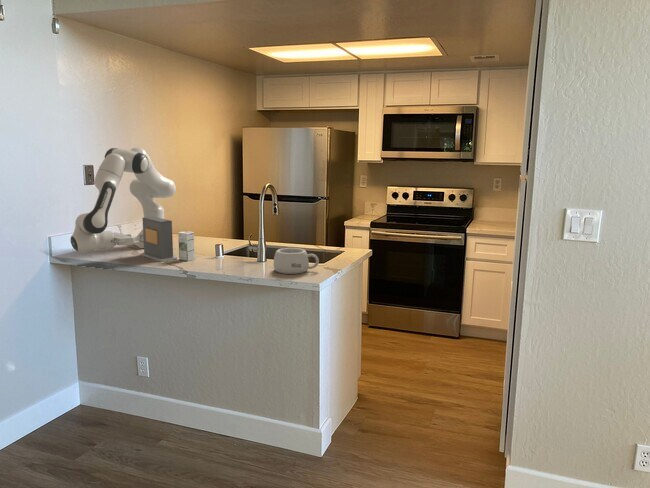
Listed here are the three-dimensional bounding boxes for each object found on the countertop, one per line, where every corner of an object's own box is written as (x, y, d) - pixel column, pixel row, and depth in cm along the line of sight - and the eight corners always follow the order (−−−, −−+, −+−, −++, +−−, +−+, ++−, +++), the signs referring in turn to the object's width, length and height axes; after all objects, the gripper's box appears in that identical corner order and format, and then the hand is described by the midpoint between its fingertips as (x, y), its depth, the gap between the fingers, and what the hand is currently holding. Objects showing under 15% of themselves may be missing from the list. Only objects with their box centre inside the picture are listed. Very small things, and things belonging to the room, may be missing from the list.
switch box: (140, 255, 279) (138, 217, 276) (156, 252, 285) (154, 216, 282) (160, 261, 264) (158, 222, 260) (176, 259, 270) (175, 220, 266)
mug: (271, 275, 241) (271, 253, 239) (275, 266, 257) (275, 246, 255) (318, 275, 241) (318, 254, 239) (318, 267, 257) (319, 247, 256)
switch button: (146, 241, 275) (145, 228, 274) (151, 240, 277) (150, 227, 276) (156, 244, 266) (156, 230, 265) (162, 243, 269) (161, 230, 267)
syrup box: (195, 259, 271) (194, 231, 268) (187, 261, 266) (186, 233, 263) (186, 258, 273) (185, 230, 271) (178, 260, 268) (177, 232, 266)
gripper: (116, 236, 246) (144, 233, 256) (98, 231, 260) (125, 228, 270) (117, 249, 247) (144, 246, 257) (99, 243, 261) (126, 240, 271)
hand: (134, 237), depth 264 cm, fingers open, 8 cm apart
